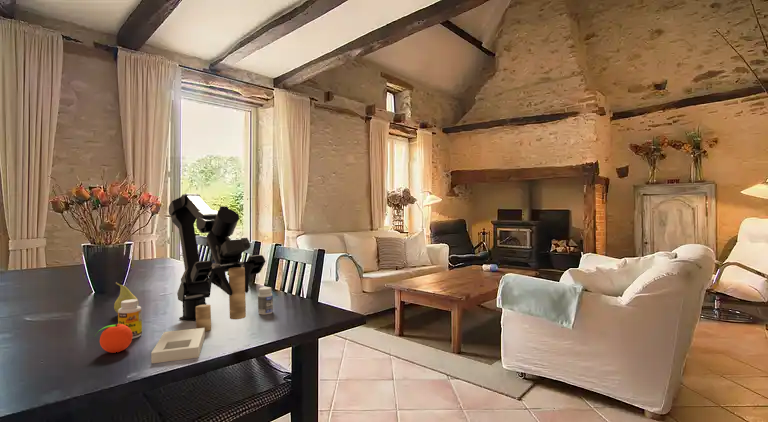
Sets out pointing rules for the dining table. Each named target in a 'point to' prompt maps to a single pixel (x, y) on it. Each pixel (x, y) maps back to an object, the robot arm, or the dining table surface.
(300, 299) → the dining table surface
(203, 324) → the short dowel
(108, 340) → the clementine
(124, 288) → the fruit
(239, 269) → the long dowel
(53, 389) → the dining table surface
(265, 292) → the pill bottle
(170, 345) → the hole plate
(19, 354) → the dining table surface
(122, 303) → the supplement bottle
